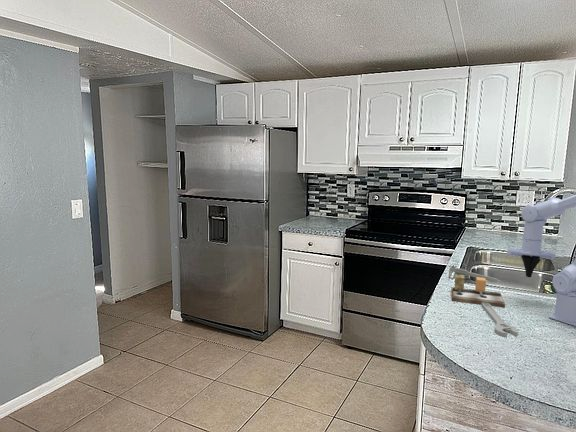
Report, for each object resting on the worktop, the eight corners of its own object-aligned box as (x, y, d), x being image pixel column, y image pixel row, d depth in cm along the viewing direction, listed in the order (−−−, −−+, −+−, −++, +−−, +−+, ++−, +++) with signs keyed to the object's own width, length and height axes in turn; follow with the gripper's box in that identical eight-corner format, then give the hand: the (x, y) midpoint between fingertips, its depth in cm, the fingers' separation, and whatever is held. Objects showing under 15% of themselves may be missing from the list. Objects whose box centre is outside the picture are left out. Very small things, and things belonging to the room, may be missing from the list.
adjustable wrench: (480, 306, 143) (480, 301, 142) (500, 308, 141) (500, 303, 141) (496, 336, 119) (497, 331, 118) (520, 339, 117) (521, 334, 117)
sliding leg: (484, 289, 152) (485, 277, 151) (486, 296, 144) (487, 284, 144) (475, 288, 153) (476, 276, 152) (476, 295, 145) (478, 283, 145)
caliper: (448, 279, 172) (449, 264, 171) (448, 278, 173) (449, 264, 172) (501, 283, 167) (502, 268, 166) (500, 282, 168) (502, 267, 167)
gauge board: (500, 296, 151) (501, 278, 150) (504, 307, 140) (506, 288, 139) (451, 290, 157) (452, 273, 156) (451, 300, 146) (453, 282, 145)
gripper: (553, 238, 143) (549, 275, 146) (507, 235, 148) (504, 271, 151) (558, 242, 137) (554, 281, 139) (510, 239, 142) (506, 276, 144)
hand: (528, 276), depth 144 cm, fingers closed
